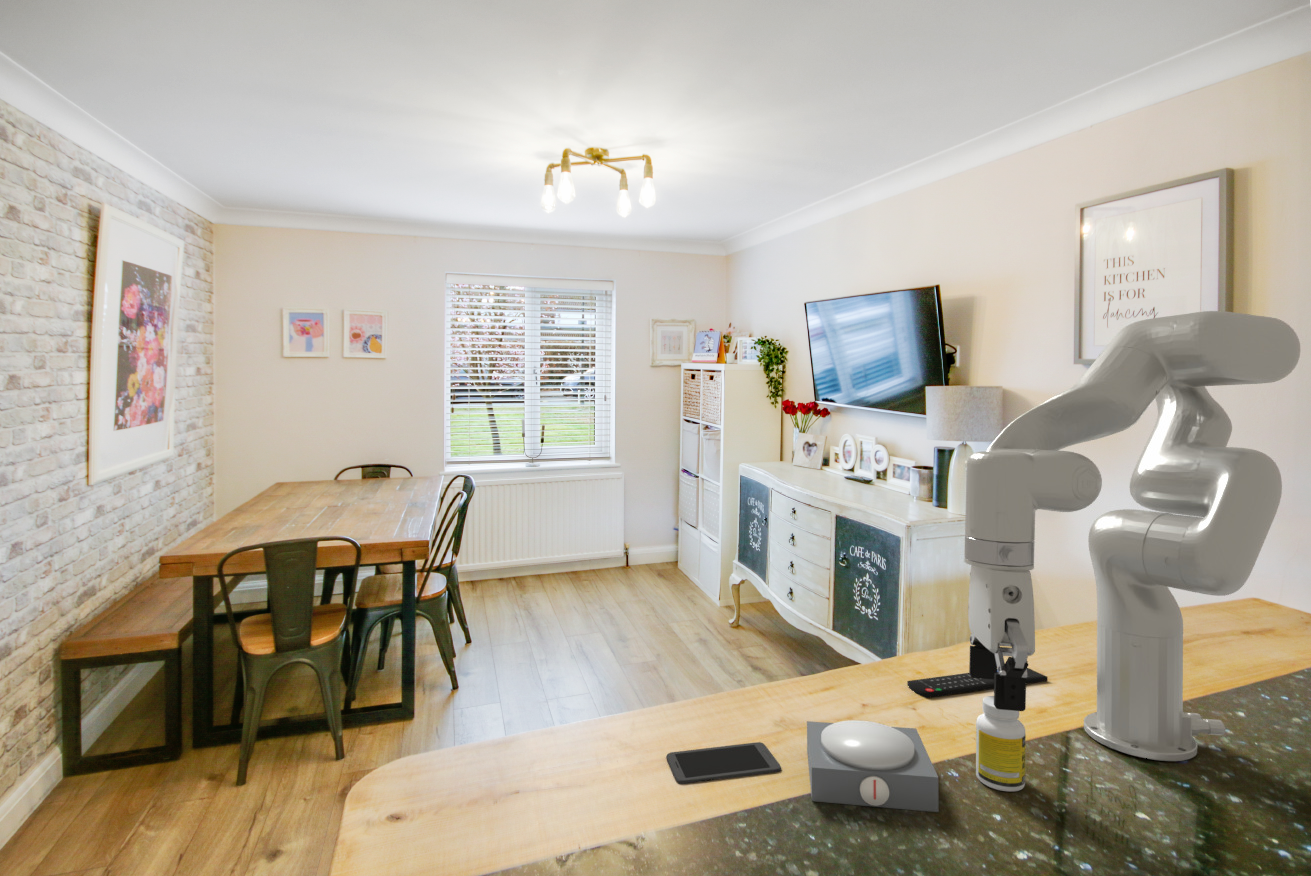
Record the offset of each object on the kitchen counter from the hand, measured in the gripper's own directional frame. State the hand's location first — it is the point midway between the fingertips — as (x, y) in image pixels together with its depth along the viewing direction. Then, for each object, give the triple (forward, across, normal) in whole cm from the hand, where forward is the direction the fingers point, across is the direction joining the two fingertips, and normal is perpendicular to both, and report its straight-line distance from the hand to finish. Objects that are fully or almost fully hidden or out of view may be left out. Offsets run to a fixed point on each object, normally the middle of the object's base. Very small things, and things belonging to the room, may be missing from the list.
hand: (995, 692), depth 80 cm
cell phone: (+13, 0, +33) cm, 35 cm away
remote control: (+11, +32, -7) cm, 34 cm away
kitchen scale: (+12, -1, +15) cm, 19 cm away
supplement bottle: (+11, +1, -1) cm, 11 cm away
